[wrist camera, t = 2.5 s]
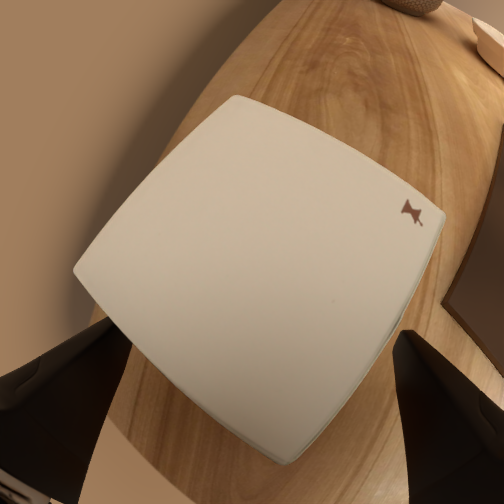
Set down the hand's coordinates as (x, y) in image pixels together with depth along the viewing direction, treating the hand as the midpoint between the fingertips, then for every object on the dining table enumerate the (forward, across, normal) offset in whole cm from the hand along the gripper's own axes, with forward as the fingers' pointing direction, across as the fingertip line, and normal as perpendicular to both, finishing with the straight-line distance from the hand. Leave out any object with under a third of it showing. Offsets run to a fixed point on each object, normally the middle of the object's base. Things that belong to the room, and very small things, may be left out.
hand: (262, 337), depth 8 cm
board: (+14, -28, -1) cm, 32 cm away
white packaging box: (+8, 0, +5) cm, 10 cm away
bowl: (+43, -50, -29) cm, 72 cm away
